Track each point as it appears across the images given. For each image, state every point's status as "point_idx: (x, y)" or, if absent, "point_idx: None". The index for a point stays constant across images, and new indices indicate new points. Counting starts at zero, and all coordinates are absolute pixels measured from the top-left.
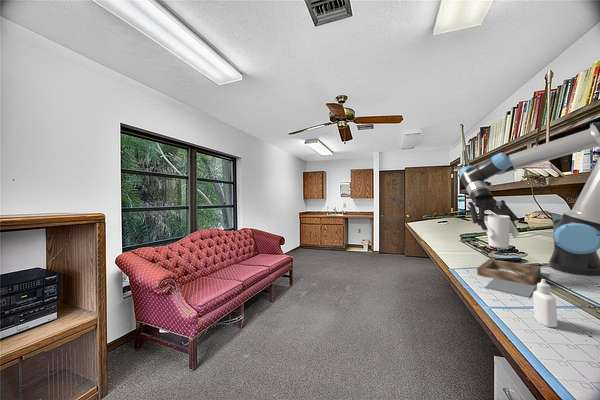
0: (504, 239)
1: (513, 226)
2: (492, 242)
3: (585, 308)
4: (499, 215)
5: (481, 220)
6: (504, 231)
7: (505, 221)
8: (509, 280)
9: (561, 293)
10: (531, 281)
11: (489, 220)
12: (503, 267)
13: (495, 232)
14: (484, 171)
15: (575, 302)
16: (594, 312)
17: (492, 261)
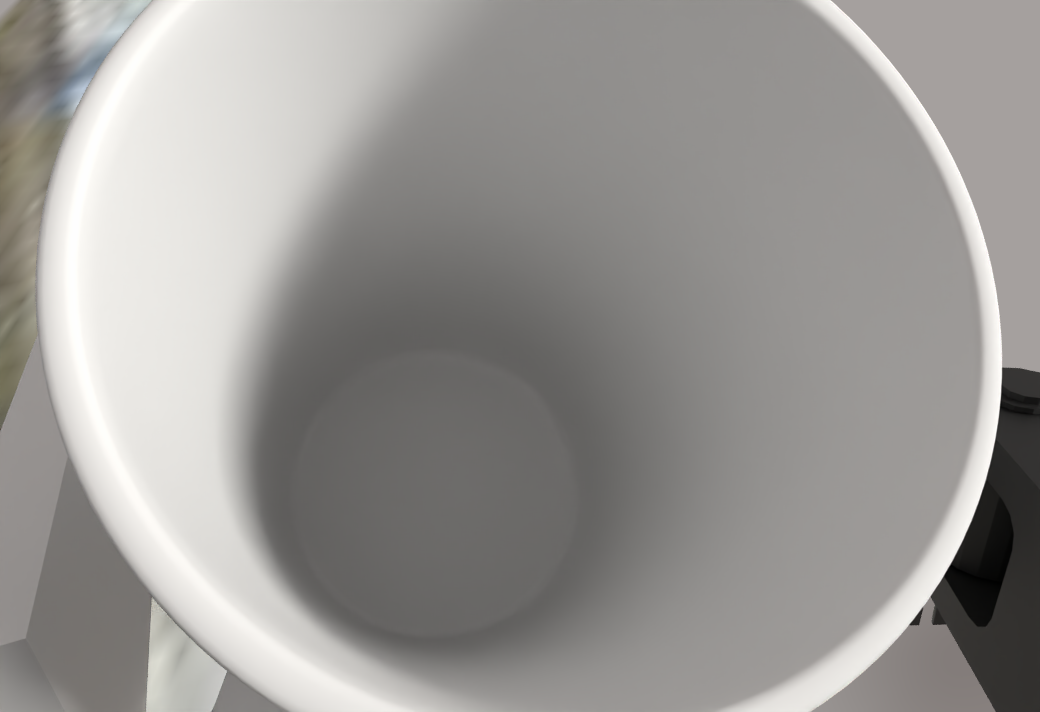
0: (387, 304)
1: (44, 430)
2: (556, 382)
3: (26, 53)
4: (418, 700)
5: (1036, 373)
6: (395, 214)
7: (377, 17)
8: None
9: (13, 297)
10: None
11: (826, 215)
12: None
13: (566, 257)
14: None
15: (25, 138)
16: (12, 7)
17: None
